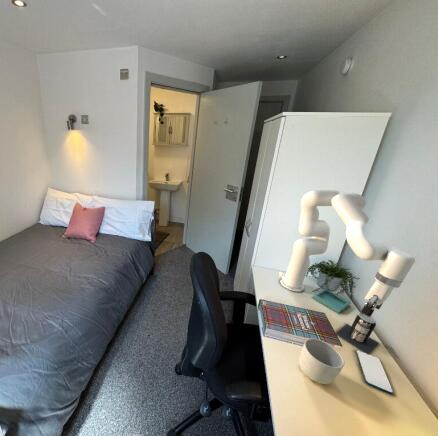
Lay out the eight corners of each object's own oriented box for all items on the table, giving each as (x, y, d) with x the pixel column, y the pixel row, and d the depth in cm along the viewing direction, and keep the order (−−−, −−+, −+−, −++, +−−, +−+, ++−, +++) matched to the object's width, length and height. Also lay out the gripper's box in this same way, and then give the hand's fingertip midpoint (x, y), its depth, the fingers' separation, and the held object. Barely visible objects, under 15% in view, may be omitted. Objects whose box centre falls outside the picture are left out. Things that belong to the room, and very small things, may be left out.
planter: (314, 355, 96) (323, 336, 92) (342, 386, 85) (353, 366, 81) (289, 358, 94) (296, 339, 90) (313, 390, 83) (323, 370, 79)
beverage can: (358, 332, 109) (369, 313, 104) (369, 344, 103) (381, 324, 98) (344, 331, 109) (354, 311, 105) (354, 342, 103) (365, 322, 99)
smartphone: (393, 395, 83) (378, 359, 96) (394, 393, 83) (379, 358, 96) (365, 383, 87) (354, 350, 100) (366, 381, 86) (355, 349, 99)
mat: (335, 333, 108) (335, 332, 108) (346, 324, 114) (347, 323, 114) (367, 354, 98) (368, 353, 98) (378, 343, 104) (378, 342, 104)
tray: (313, 298, 131) (314, 294, 130) (324, 291, 137) (325, 288, 136) (338, 313, 121) (340, 309, 120) (349, 305, 127) (350, 302, 126)
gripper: (384, 269, 101) (367, 299, 108) (368, 279, 93) (351, 311, 99) (407, 278, 95) (388, 310, 102) (393, 290, 87) (373, 324, 93)
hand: (370, 310), depth 101 cm, fingers open, 9 cm apart
